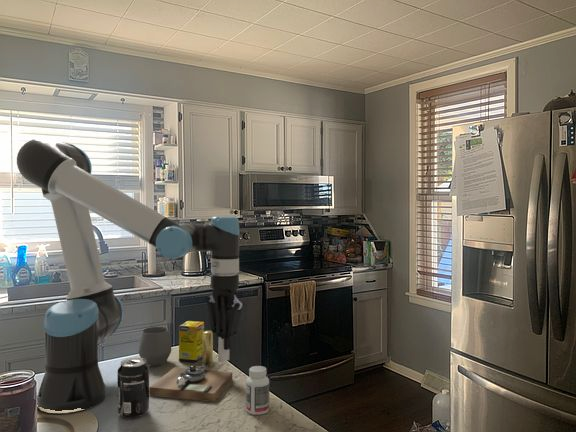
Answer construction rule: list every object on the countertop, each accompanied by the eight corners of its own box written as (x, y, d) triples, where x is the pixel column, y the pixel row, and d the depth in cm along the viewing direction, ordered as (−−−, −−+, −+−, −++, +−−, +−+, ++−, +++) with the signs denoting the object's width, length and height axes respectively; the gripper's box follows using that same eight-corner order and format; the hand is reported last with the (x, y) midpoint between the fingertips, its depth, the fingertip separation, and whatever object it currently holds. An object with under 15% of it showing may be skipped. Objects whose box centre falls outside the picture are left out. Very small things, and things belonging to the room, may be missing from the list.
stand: (149, 395, 115) (149, 385, 115) (174, 374, 128) (174, 365, 128) (213, 401, 111) (213, 391, 111) (232, 379, 125) (232, 371, 125)
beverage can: (128, 405, 109) (128, 355, 108) (154, 408, 107) (154, 357, 107) (111, 419, 102) (111, 365, 102) (139, 422, 101) (139, 368, 100)
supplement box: (197, 363, 138) (197, 326, 137) (178, 361, 139) (178, 325, 139) (204, 356, 144) (204, 321, 143) (186, 354, 145) (186, 320, 144)
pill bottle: (272, 406, 109) (272, 366, 109) (264, 417, 104) (265, 374, 103) (250, 403, 110) (250, 363, 110) (242, 413, 105) (242, 371, 105)
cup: (134, 361, 138) (134, 328, 138) (164, 355, 144) (164, 324, 143) (145, 371, 131) (145, 336, 130) (176, 364, 136) (176, 331, 136)
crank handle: (190, 391, 112) (190, 351, 111) (166, 388, 113) (166, 349, 113) (220, 365, 129) (220, 331, 129) (199, 363, 131) (199, 329, 130)
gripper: (198, 272, 125) (197, 358, 126) (231, 278, 117) (230, 370, 117) (218, 269, 131) (217, 351, 132) (252, 274, 123) (250, 362, 123)
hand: (223, 360), depth 125 cm, fingers closed
